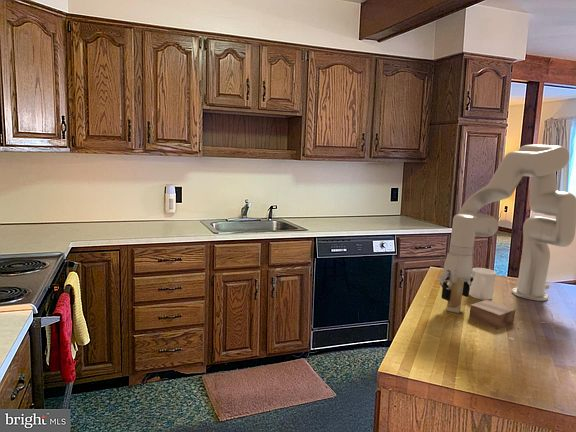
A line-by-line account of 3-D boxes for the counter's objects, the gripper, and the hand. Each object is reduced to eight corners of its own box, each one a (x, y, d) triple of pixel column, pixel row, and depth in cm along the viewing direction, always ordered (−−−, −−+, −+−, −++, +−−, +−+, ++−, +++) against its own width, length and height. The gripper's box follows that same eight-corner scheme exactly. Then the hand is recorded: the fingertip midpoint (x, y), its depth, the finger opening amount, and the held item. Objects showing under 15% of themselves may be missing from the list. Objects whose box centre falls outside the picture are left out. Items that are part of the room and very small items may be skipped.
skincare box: (448, 305, 159) (452, 272, 157) (460, 307, 157) (465, 274, 155) (446, 310, 153) (450, 277, 151) (459, 313, 151) (463, 279, 149)
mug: (492, 305, 161) (496, 278, 160) (468, 300, 165) (471, 274, 163) (492, 295, 172) (495, 270, 170) (469, 291, 176) (472, 266, 174)
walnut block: (485, 313, 154) (486, 299, 153) (513, 323, 146) (515, 309, 145) (468, 318, 148) (470, 304, 147) (497, 330, 140) (499, 315, 139)
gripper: (468, 245, 159) (462, 291, 162) (434, 249, 150) (429, 297, 153) (486, 250, 152) (480, 297, 155) (452, 255, 144) (446, 304, 147)
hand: (455, 297), depth 154 cm, fingers open, 9 cm apart
